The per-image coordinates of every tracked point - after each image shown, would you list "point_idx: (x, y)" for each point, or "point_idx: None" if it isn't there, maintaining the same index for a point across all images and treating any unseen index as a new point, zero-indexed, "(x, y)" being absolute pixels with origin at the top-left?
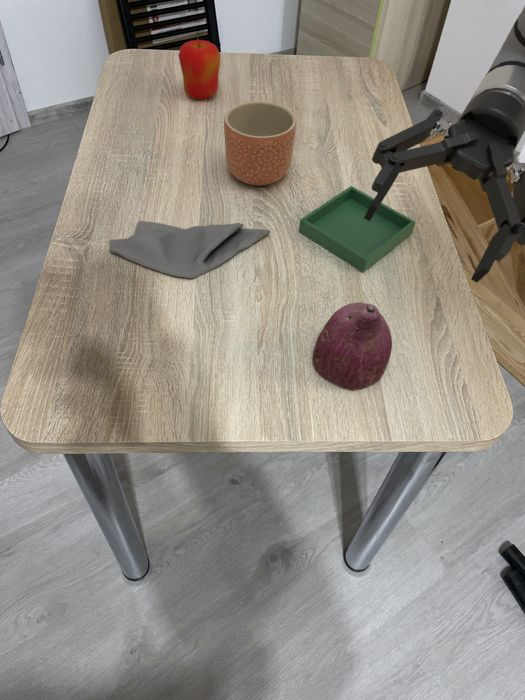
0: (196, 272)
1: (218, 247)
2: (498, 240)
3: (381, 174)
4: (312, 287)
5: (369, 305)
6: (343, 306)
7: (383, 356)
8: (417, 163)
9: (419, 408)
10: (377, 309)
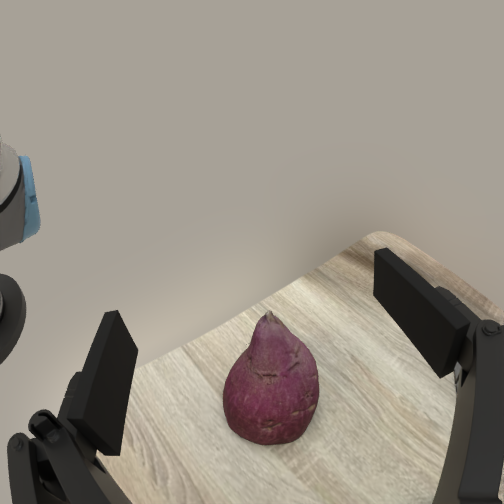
0: (458, 371)
1: None
2: (93, 371)
3: (453, 301)
4: (379, 459)
5: (275, 324)
6: (312, 364)
7: (228, 376)
8: (460, 425)
9: (166, 390)
10: (262, 330)
